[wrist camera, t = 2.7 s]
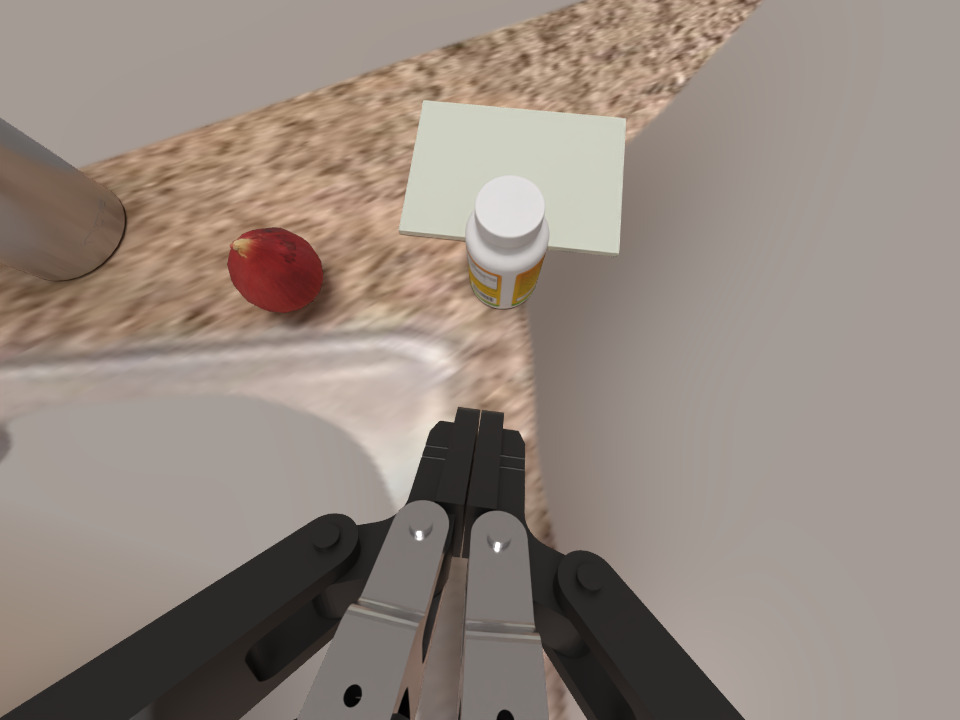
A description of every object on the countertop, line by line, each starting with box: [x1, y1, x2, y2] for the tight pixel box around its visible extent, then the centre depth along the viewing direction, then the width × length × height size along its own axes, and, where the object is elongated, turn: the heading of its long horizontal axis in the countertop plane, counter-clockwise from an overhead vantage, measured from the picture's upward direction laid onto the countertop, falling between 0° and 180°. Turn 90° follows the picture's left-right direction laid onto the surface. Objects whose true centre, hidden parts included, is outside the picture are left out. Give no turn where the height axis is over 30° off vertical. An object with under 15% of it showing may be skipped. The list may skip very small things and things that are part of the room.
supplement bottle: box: [465, 175, 549, 309], centre depth 25 cm, size 5×5×10 cm
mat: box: [399, 100, 626, 257], centre depth 32 cm, size 18×13×1 cm
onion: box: [227, 227, 323, 313], centre depth 26 cm, size 6×6×8 cm
